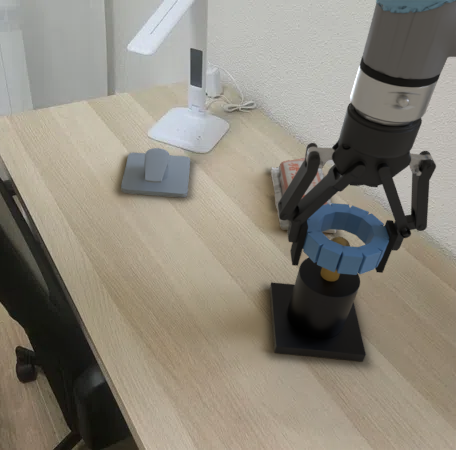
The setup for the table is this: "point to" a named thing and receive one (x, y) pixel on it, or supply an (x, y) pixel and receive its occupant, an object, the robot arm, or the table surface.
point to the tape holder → (317, 313)
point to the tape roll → (338, 254)
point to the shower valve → (156, 174)
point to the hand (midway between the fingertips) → (335, 261)
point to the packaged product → (282, 181)
